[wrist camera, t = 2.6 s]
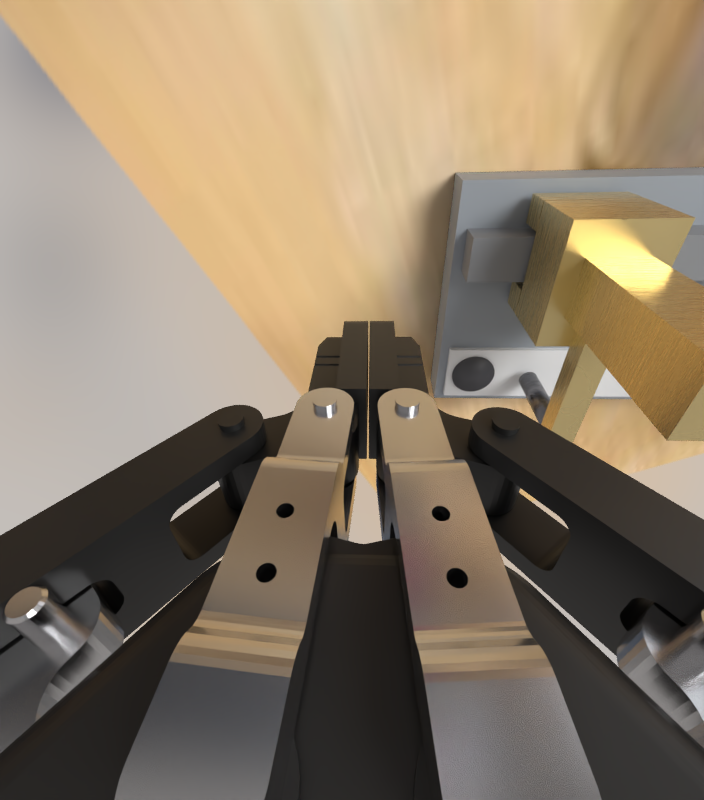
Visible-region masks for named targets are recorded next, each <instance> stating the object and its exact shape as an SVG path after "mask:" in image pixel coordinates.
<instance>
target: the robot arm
mask: <svg viewBox="0 0 704 800" xmlns="http://www.w3.org/2000/svg"><path fill="white" fill-rule="evenodd" d="M367 410H368V321H345V322H344V328H343V335H342V337H327V338H326V339H325V340H324V341H323V342H322V343H321V344H320V345H319V346H318V351H317V355H316V360H315V366H314V369H313V374H312V378H311V383H310V387H309V392H307V393H306V394H304V395H303V396H302V397H300V399H299V400H298V402H297V404H296V406H295V409H294V411H292V412H290V413H288V414H285V415H281V416H277V417H272V418H268V419H263V417H262V414H261V413H260V411H258V410H257V409H255V408H253V407H250V406H246V405H234V406H229V407H225V408H222V409H219V410H217V411H215V412H213V413H212V414H210V415H208V416H206V417H205V418H203V419H201V420H200V421H198V422H196V423H194V424H193V425H191V426H189V427H188V428H186V429H184V430H182V431H181V432H179V433H177V434H175V435H174V436H172V437H170V438H168V439H167V440H165V441H163V442H161V443H160V444H158V445H156V446H155V447H153V448H151V449H150V450H148V451H146V452H144V453H142V454H141V455H139V456H137V457H135V458H134V459H132V460H131V461H129V462H127V463H125V464H123V465H122V466H120V467H118V468H117V469H115V470H113V471H111V472H110V473H108V474H106V475H104V476H103V477H101V478H99V479H97V480H96V481H94V482H92V483H91V484H89V485H87V486H85V487H84V488H82V489H80V490H79V491H77V492H75V493H73V494H72V495H70V496H68V497H66V498H65V499H63V500H61V501H59V502H58V503H56V504H54V505H52V506H51V507H49V508H47V509H46V510H44V511H42V512H40V513H39V514H37V515H35V516H33V517H32V518H30V519H28V520H26V521H25V522H23V523H22V524H20V525H18V526H16V527H14V528H13V529H11V530H10V531H7V532H6V533H4V534H2V535H0V800H704V520H703V519H701V518H700V517H698V516H696V515H695V514H693V513H691V512H689V511H688V510H686V509H684V508H682V507H681V506H679V505H677V504H676V503H674V502H672V501H671V500H669V499H667V498H666V497H664V496H662V495H660V494H659V493H657V492H655V491H654V490H652V489H650V488H648V487H647V486H645V485H643V484H641V483H640V482H638V481H637V480H635V479H633V478H631V477H630V476H628V475H626V474H625V473H623V472H621V471H619V470H618V469H616V468H614V467H613V466H611V465H609V464H607V463H606V462H604V461H602V460H601V459H599V458H597V457H595V456H594V455H592V454H590V453H589V452H587V451H585V450H584V449H582V448H580V447H578V446H577V445H575V444H573V443H572V442H570V441H568V440H566V439H565V438H563V437H561V436H560V435H558V434H556V433H554V432H553V431H551V430H549V429H548V428H546V427H544V426H542V425H541V424H539V423H537V422H536V421H534V420H532V419H531V418H529V417H527V416H525V415H524V414H522V413H520V412H517V411H515V410H511V409H507V408H500V407H493V408H487V409H483V410H481V411H479V412H478V413H476V414H475V416H474V417H473V419H472V420H468V419H464V418H459V417H455V416H452V415H449V414H447V413H445V412H443V411H441V410H439V409H438V408H437V405H436V402H435V400H434V399H433V398H432V397H431V396H430V395H429V394H428V388H427V383H426V378H425V372H424V367H423V362H422V358H421V351H420V346H419V345H418V344H417V343H416V342H415V341H414V340H413V339H412V338H411V337H395V329H394V321H370V361H369V459H376V468H377V473H376V486H377V495H378V505H379V514H380V522H381V523H380V524H381V533H382V541H378V542H374V543H369V544H358V543H354V542H350V541H348V538H349V531H350V524H351V517H352V510H353V503H354V496H355V489H356V475H357V473H358V468H359V459H367ZM216 481H219V484H220V487H219V488H218V489H216V490H215V491H213V492H212V493H211V494H209V495H208V496H206V497H205V498H203V499H202V500H201V501H199V502H198V503H197V504H195V505H194V506H192V507H191V508H190V509H188V510H187V511H185V512H184V513H183V514H181V515H180V516H178V517H177V518H175V519H174V520H173V521H171V522H170V520H171V518H172V516H173V514H174V513H175V512H176V510H177V509H179V508H180V507H181V506H182V505H184V504H185V503H187V502H188V501H189V500H191V499H192V498H193V497H195V496H197V495H198V494H199V493H201V492H202V491H203V490H205V489H206V488H208V487H209V486H211V485H212V484H214V483H215V482H216ZM520 488H521V489H523V490H524V491H525V492H527V493H528V494H530V495H531V496H532V497H534V498H535V499H536V500H538V501H539V502H541V503H542V504H543V505H545V506H546V507H547V508H549V509H550V510H551V511H553V512H554V513H556V514H557V515H558V516H559V517H560V518H561V519H563V521H564V522H565V523H566V525H567V526H568V528H569V529H567V528H566V527H564V526H563V525H562V524H560V523H559V522H557V521H556V520H555V519H554V518H552V517H551V516H550V515H548V514H547V513H546V512H544V511H543V510H541V509H540V508H539V507H537V506H536V505H535V504H533V503H532V502H531V501H529V500H528V499H527V498H525V497H524V496H523V495H521V494H520V493H519V490H520ZM500 553H501V554H503V555H504V556H505V557H506V558H507V559H508V560H509V561H510V562H512V563H513V564H514V565H515V566H516V567H517V568H518V569H519V570H521V571H522V572H523V573H524V574H525V575H526V576H527V577H528V578H529V579H531V580H532V581H533V582H534V583H535V584H536V585H537V586H538V587H540V588H541V589H542V590H543V591H544V592H545V593H546V594H548V595H549V596H550V597H551V598H552V599H553V600H554V601H555V602H557V603H558V604H559V605H560V606H561V607H562V608H563V609H564V610H565V611H567V612H568V613H569V614H570V615H571V616H572V617H573V618H574V619H576V620H577V621H578V622H579V623H580V624H581V625H582V626H583V627H584V628H586V629H587V630H588V631H589V632H590V633H591V634H592V635H593V636H595V637H596V638H597V639H598V640H599V641H600V642H601V643H602V644H604V645H605V646H606V647H607V648H608V649H609V650H610V651H612V652H613V653H614V654H615V655H616V656H617V662H618V666H619V667H618V666H617V665H616V664H615V663H613V662H612V661H611V660H610V659H609V658H608V657H607V656H606V655H605V654H604V653H603V652H602V651H601V650H600V649H599V648H598V647H597V646H595V644H593V643H592V642H591V641H590V640H589V639H588V638H587V637H586V636H585V635H584V634H583V633H582V632H581V631H580V630H579V629H578V628H577V627H576V626H575V625H573V624H572V623H571V622H570V621H569V620H568V619H567V618H566V617H565V616H564V615H563V614H562V613H561V612H560V611H559V610H558V609H556V608H555V607H554V606H553V605H552V604H551V603H550V602H549V601H548V600H547V599H546V598H545V597H544V596H543V595H542V594H541V593H540V592H539V591H538V590H537V589H536V588H534V587H533V586H532V585H531V584H530V583H529V582H528V581H526V580H525V579H524V578H523V577H521V576H520V575H519V574H517V573H516V572H515V571H513V570H512V569H510V568H508V567H507V566H505V565H504V563H503V560H502V558H501V554H500ZM223 555H224V556H223ZM222 556H223V558H222V560H221V561H219V562H218V563H216V564H215V565H213V566H212V567H210V566H211V565H212V564H214V563H215V562H216V561H217V560H218V559H219V558H221V557H222ZM209 567H210V568H209ZM208 568H209V569H208ZM207 569H208V570H207ZM205 570H206V571H205ZM204 571H205V572H204ZM199 575H200V576H199ZM198 576H199V577H198ZM192 581H193V582H192ZM191 582H192V583H191ZM190 583H191V584H190ZM189 584H190V585H189ZM188 585H189V586H188ZM186 586H187V587H186ZM185 587H186V588H185ZM184 588H185V589H184ZM183 589H184V590H183ZM182 590H183V591H182ZM180 591H182V592H181V593H179V592H180ZM178 593H179V594H178ZM177 594H178V595H177ZM176 595H177V596H176ZM175 596H176V597H175ZM173 597H175V598H174V599H173V600H172V601H171V602H169V601H170V600H171V599H172V598H173ZM167 602H169V603H168V604H167V605H166V606H165V607H164V608H163V609H162V610H160V611H159V612H158V613H157V614H156V615H155V616H154V617H153V618H151V619H150V620H149V621H148V622H147V623H146V624H145V625H144V626H143V627H141V628H140V629H139V630H138V631H137V632H136V633H135V634H134V635H132V636H131V637H130V638H129V639H128V640H127V641H126V642H125V643H123V640H124V639H125V638H126V637H127V636H128V635H130V634H131V633H132V632H133V631H134V630H135V629H137V628H138V627H139V626H140V625H141V624H142V623H144V622H145V621H146V620H147V619H149V618H150V617H151V616H152V615H153V614H154V613H156V612H157V611H158V610H159V609H160V608H162V607H163V606H164V605H165V604H166V603H167Z"/></svg>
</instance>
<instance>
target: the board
mask: <svg viewBox="0 0 704 800" xmlns="http://www.w3.org/2000/svg"><path fill="white" fill-rule="evenodd" d="M626 191H629V192H631V193H634V194H636V195H639V196H641V197H644V198H646V199H649V200H652V201H654V202H657V203H659V204H662V205H664V206H667V207H669V208H672V209H675V210H677V211H680V212H682V213H685V214H687V215H690V216H692V217H695V220H694V222H693V224H692V226H691V228H690V231H689V233H688V235H687V237H686V239H685V241H684V243H683V245H682V247H681V249H680V251H679V253H678V255H677V257H676V260H675V262H674V264H673V266H672V268H673V269H675V270H677V271H678V272H680V273H682V274H683V275H685V276H687V277H688V278H690V279H692V280H693V281H695V282H697V283H699V284H700V285H702V286H704V167H695V168H650V169H604V170H559V171H514V172H469V173H455V181H454V189H453V198H452V206H451V214H450V223H449V231H448V239H447V247H446V256H445V264H444V272H443V281H442V289H441V297H440V306H439V314H438V322H437V331H436V339H435V347H434V355H433V364H432V372H431V383H432V389H433V394H434V398H526V396H525V394H524V392H523V390H522V388H521V386H520V384H519V378H520V376H521V375H522V374H524V373H526V372H533V373H535V374H536V375H537V377H538V379H539V380H540V382H541V384H542V386H543V387H544V389H545V391H546V393H547V394H548V396H549V398H551V396H552V393H553V390H554V387H555V385H556V382H557V379H558V377H559V374H560V371H561V368H562V366H563V363H564V360H565V357H566V355H567V352H568V349H569V346H535V345H534V343H533V342H532V340H531V339H530V337H529V335H528V334H527V332H526V331H525V329H524V327H523V326H522V324H521V323H520V321H519V320H518V318H517V316H516V315H515V313H514V312H513V310H512V308H511V307H510V305H509V304H508V297H509V293H510V289H511V285H512V282H524V279H525V275H526V271H527V267H528V263H529V259H530V255H531V251H532V247H533V243H534V239H535V235H536V231H535V230H534V229H532V228H531V227H530V226H529V225H528V224H527V223H526V221H527V216H528V212H529V208H530V203H531V199H532V195H533V193H574V192H626ZM593 399H632V398H631V397H630V396H629V395H628V393H627V392H626V391H625V390H624V389H623V387H622V386H621V385H620V384H619V383H618V382H617V380H616V379H615V378H614V377H613V376H612V374H611V373H610V372H609V371H608V370H607V368H606V370H605V372H604V374H603V376H602V379H601V381H600V383H599V385H598V388H597V390H596V392H595V394H594V396H593Z"/></svg>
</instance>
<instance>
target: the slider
mask: <svg viewBox="0 0 704 800" xmlns="http://www.w3.org/2000/svg"><path fill="white" fill-rule="evenodd" d="M694 220H695V217H692V216H690V215H687V214H685V213H682V212H680V211H677V210H675V209H672V208H669V207H667V206H664V205H662V204H659V203H657V202H654V201H652V200H649V199H646V198H644V197H641V196H639V195H636V194H634V193H631V192H629V191H626V192H574V193H533V195H532V199H531V203H530V208H529V212H528V216H527V221H526V223H527V224H528V225H529V226H530V227H531V228H532V229H534V230H535V231H536V235H535V239H534V243H533V247H532V251H531V255H530V259H529V263H528V267H527V271H526V275H525V279H524V282H512V285H511V289H510V293H509V297H508V304H509V305H510V307H511V308H512V310H513V312H514V313H515V315H516V316H517V318H518V320H519V321H520V323H521V324H522V326H523V327H524V329H525V331H526V332H527V334H528V335H529V337H530V339H531V340H532V342H533V343H534V345H535V346H569V349H568V352H567V355H566V357H565V360H564V363H563V366H562V368H561V371H560V374H559V377H558V379H557V382H556V385H555V387H554V390H553V393H552V396H551V398H549V396H548V394H547V393H546V391H545V389H544V387H543V386H542V384H541V382H540V380H539V379H538V377H537V375H536V374H535V373H533V372H526V373H524V374H522V375H521V376H520V378H519V384H520V386H521V388H522V390H523V392H524V394H525V396H526V398H527V400H528V402H529V404H530V406H531V408H532V410H533V412H534V414H535V416H536V418H537V420H538V422H539V424H541V425H542V426H544V427H546V428H548V429H549V430H551V431H553V432H554V433H556V434H558V435H560V436H561V437H563V438H565V439H566V440H568V441H570V442H573V441H574V439H575V436H576V434H577V432H578V430H579V427H580V425H581V423H582V421H583V419H584V416H585V414H586V412H587V410H588V407H589V405H590V403H591V401H592V399H593V396H594V394H595V392H596V390H597V388H598V385H599V383H600V381H601V379H602V376H603V374H604V372H605V370H606V368H607V370H608V371H609V372H610V373H611V374H612V376H613V377H614V378H615V379H616V380H617V382H618V383H619V384H620V385H621V386H622V387H623V389H624V390H625V391H626V392H627V393H628V395H629V396H630V397H631V398H632V399H633V401H634V402H635V403H636V404H637V405H638V407H639V408H640V409H641V410H642V411H643V413H644V414H645V415H646V416H647V417H648V419H649V420H650V421H651V422H652V423H653V424H654V426H655V427H656V428H657V429H658V430H659V432H660V433H661V434H662V435H663V436H664V438H665V439H666V440H672V441H704V286H702V285H700V284H699V283H697V282H695V281H693V280H692V279H690V278H688V277H687V276H685V275H683V274H682V273H680V272H678V271H677V270H675V269H673V268H672V266H673V264H674V262H675V260H676V257H677V255H678V253H679V251H680V249H681V247H682V245H683V243H684V241H685V239H686V237H687V235H688V233H689V231H690V228H691V226H692V224H693V222H694Z"/></svg>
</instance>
